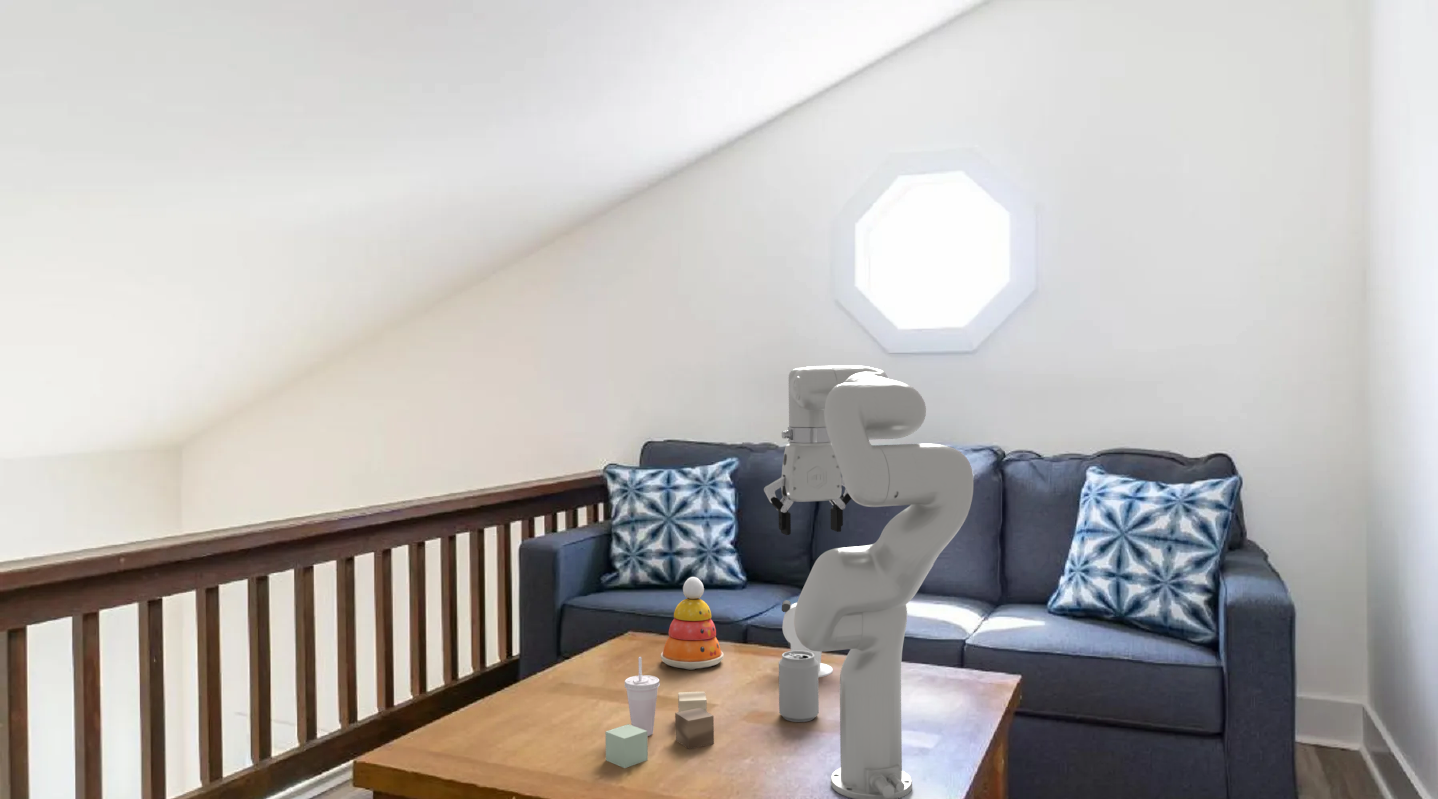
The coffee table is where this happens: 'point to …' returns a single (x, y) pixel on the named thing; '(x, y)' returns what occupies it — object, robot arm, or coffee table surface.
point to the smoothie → (642, 699)
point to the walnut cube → (694, 728)
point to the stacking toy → (692, 632)
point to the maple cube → (691, 701)
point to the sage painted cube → (626, 746)
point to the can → (798, 686)
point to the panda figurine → (794, 641)
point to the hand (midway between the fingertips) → (811, 532)
